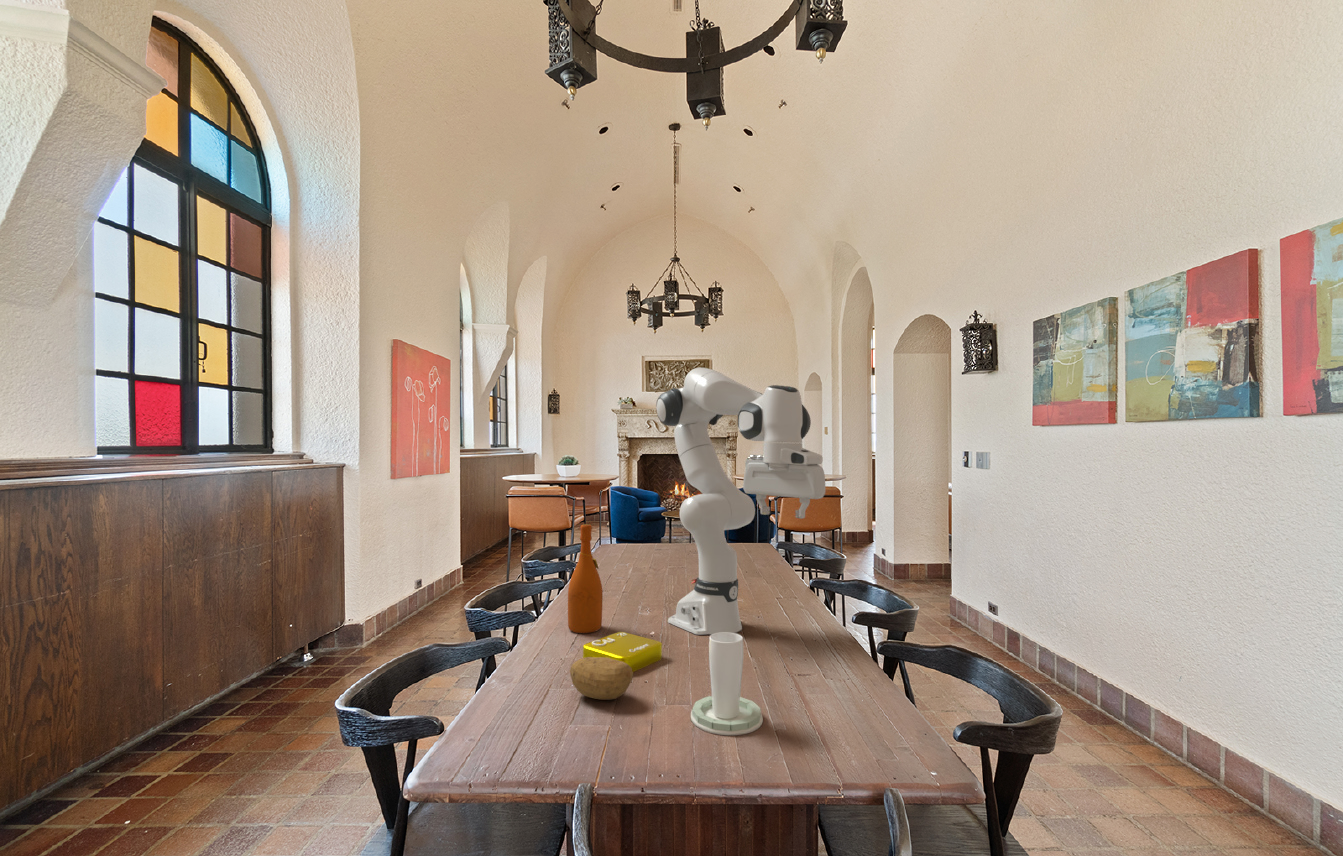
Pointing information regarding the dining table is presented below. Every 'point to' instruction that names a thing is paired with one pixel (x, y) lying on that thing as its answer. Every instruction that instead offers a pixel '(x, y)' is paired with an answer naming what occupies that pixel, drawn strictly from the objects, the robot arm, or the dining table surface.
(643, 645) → the element tile
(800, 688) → the dining table surface
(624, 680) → the potato
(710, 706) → the green rimmed plate
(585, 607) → the wine bottle
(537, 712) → the dining table surface
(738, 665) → the drinking glass
